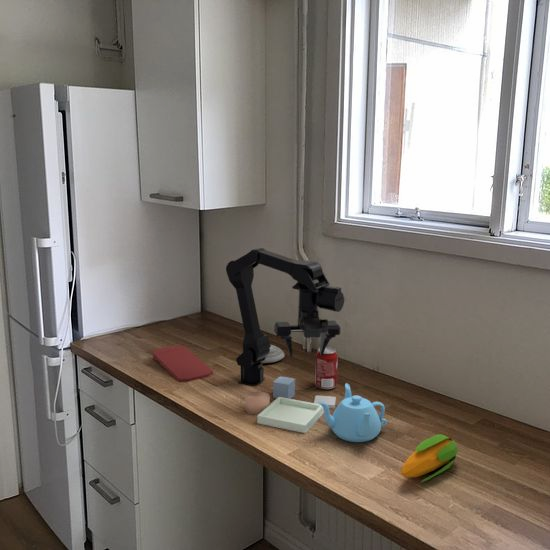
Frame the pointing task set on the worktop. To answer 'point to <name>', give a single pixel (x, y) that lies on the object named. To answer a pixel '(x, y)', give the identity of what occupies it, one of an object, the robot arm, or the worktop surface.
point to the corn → (430, 457)
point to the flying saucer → (274, 355)
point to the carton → (181, 363)
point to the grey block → (326, 400)
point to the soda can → (326, 369)
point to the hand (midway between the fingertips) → (306, 356)
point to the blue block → (284, 387)
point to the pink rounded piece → (256, 402)
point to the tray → (291, 414)
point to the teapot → (355, 418)
